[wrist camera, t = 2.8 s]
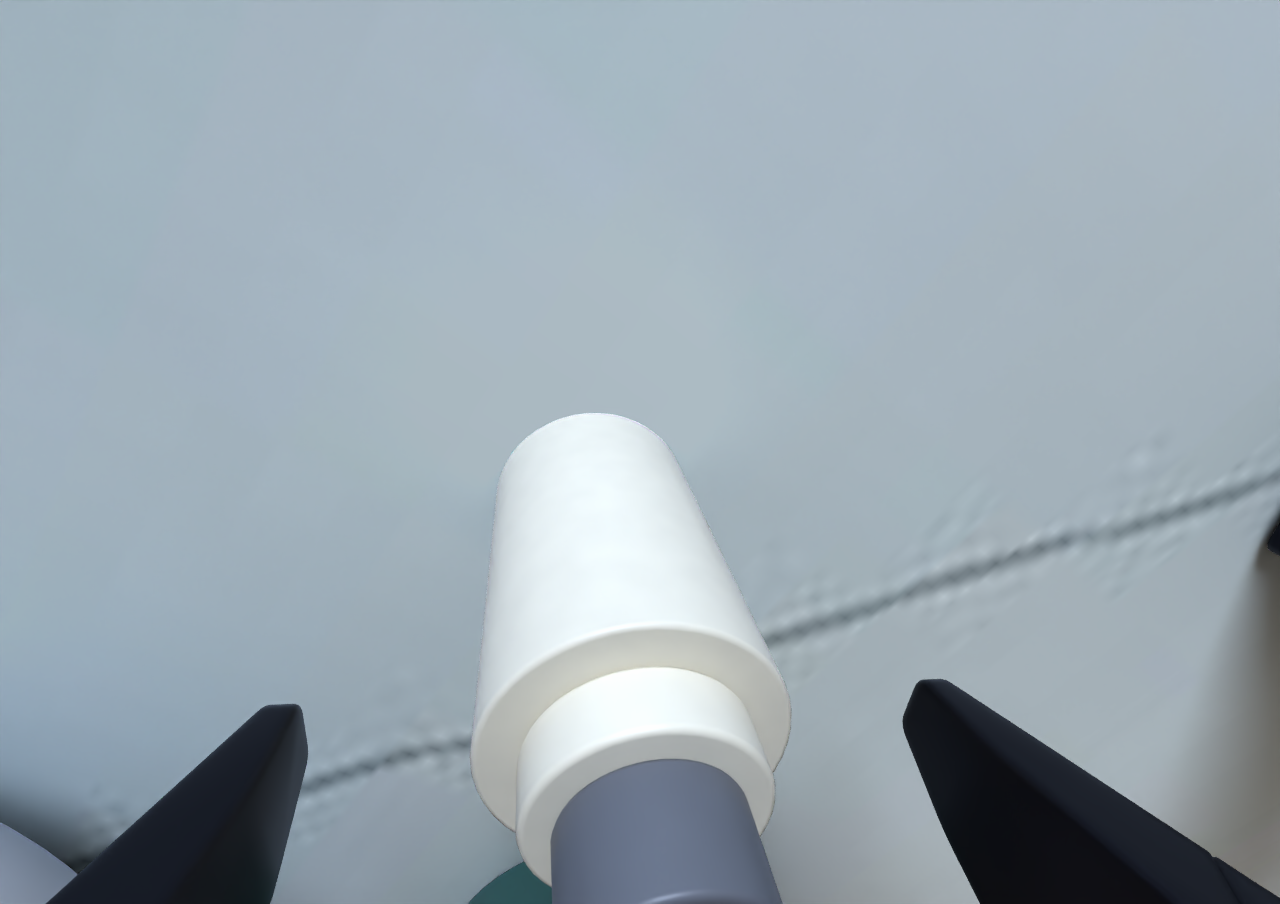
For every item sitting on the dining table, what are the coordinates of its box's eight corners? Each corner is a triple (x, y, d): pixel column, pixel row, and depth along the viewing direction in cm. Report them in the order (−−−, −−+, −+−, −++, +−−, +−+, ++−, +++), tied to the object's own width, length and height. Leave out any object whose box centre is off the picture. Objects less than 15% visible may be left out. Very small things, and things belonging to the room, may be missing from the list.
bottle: (695, 416, 14) (945, 806, 6) (669, 574, 16) (828, 1050, 7) (498, 406, 13) (440, 849, 5) (494, 575, 15) (448, 1112, 7)
